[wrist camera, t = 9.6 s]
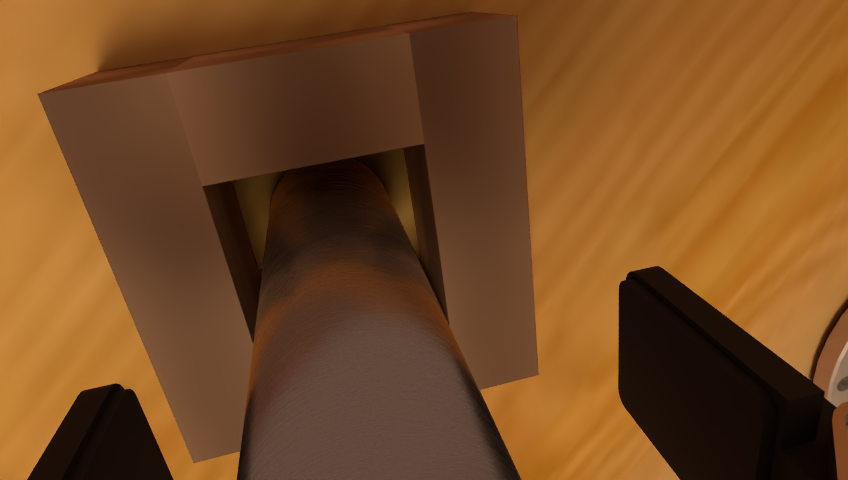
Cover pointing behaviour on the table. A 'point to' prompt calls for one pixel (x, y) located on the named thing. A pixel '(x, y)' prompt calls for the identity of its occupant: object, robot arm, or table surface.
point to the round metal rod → (356, 348)
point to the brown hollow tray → (293, 148)
